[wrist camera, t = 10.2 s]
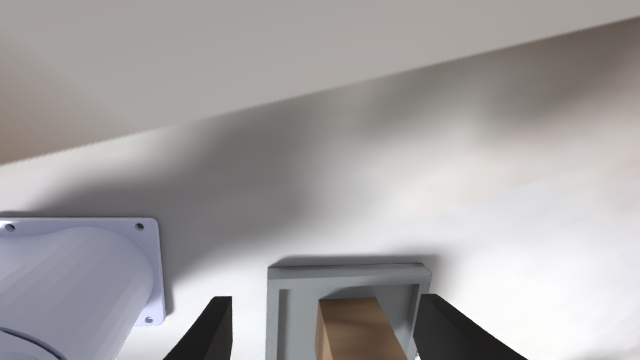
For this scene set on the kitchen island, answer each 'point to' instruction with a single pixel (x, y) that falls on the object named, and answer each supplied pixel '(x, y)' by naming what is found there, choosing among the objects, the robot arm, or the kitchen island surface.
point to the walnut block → (355, 331)
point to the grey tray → (338, 283)
